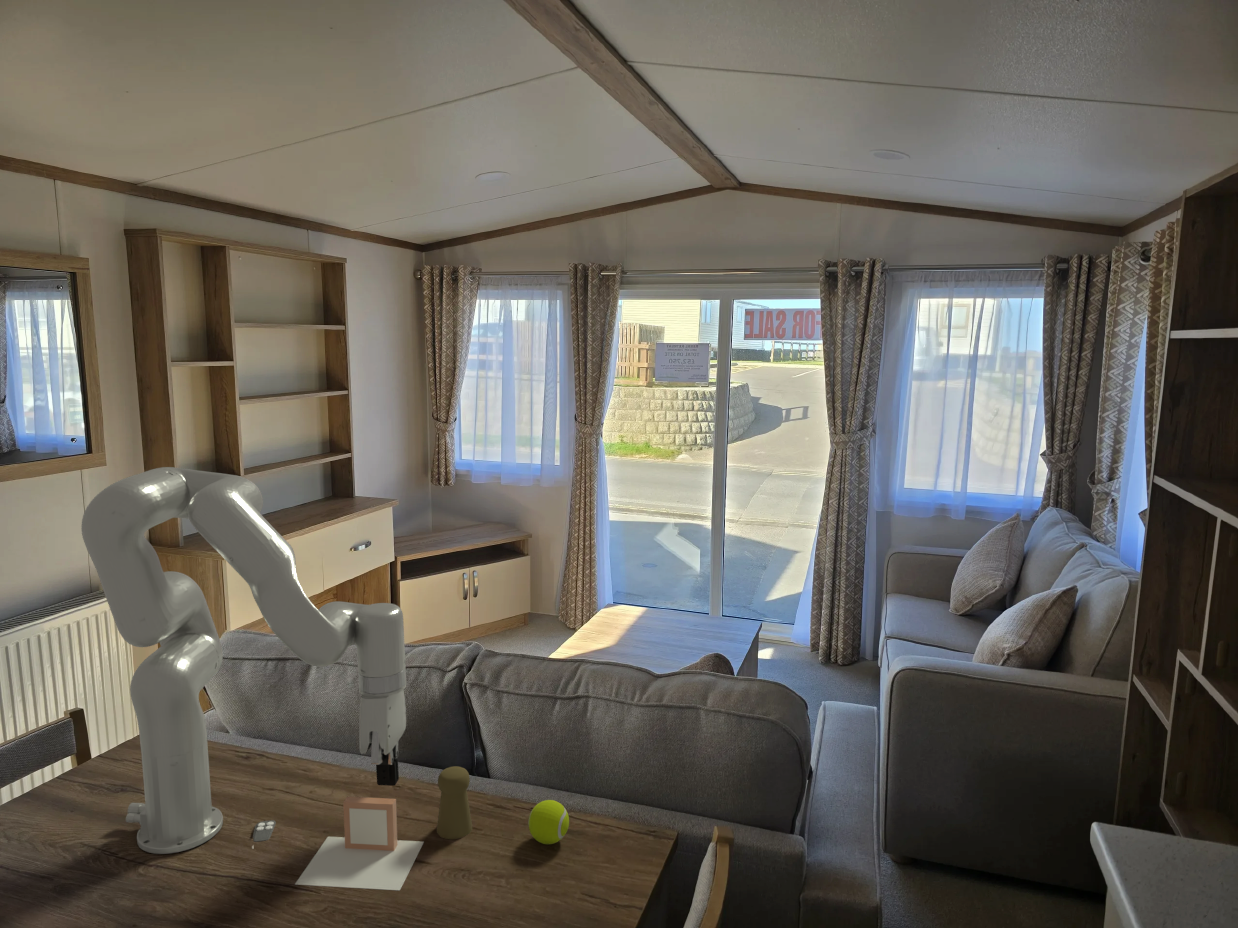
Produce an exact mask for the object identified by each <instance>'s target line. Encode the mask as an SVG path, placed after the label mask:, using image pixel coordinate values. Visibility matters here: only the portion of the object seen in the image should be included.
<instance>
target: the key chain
mask: <svg viewBox="0 0 1238 928" xmlns="http://www.w3.org/2000/svg"><path fill="white" fill-rule="evenodd" d="M276 824H277V822H276V820H273V819H270V820H264V821H263V820H261V821H259V822H257V823H256V824H255V826H254V829H253V834H252V838H253V839H252V840H253V842H255V843H257V842H265V841H268V840H270V838H271V837H272V834H273V832H274V829H275V827H276ZM254 846H255V845H254V844H253V845H252V846H251V849H252V850H254V848H255V847H254Z"/></svg>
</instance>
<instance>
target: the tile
mask: <svg viewBox="0 0 1238 928" xmlns="http://www.w3.org/2000/svg"><path fill="white" fill-rule="evenodd" d="M342 803H343V804H342V805H343V807H342V808H343V826H344V827H343V828H344V829H343V830H344V837H345V848H350V849H368V850H387V851H394V850H395V848H396V847H397V840H398V824H397V823H398V821H397V820H398V819H397V798H387V797H385V798H382V797H365V796H364V797H363V796H362V797H361V796H346V798H345V799H344V800H343V802H342Z"/></svg>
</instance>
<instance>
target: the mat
mask: <svg viewBox="0 0 1238 928" xmlns="http://www.w3.org/2000/svg"><path fill="white" fill-rule="evenodd" d="M424 843H425V841H419V840H417V841H415V840H401V839H399V840H398V839H397V847H396V848H395V850H394V851H387V850H368V849H350V848H345V836H344V837H343V836H342V837H341V836H327V837H326V839H325V840H324V841H323V843H322V844H321V846H320V847H319V848H318V851H316V854H314V856H313V857H312V859H311V860H310V861H309V863H308V865H307V866H306V868H305V869H304V871H303V872H302V873H301V875H300V876H299V878H298V879H297V880H296V881H295V883H294V885H296V886H298V885H300V886H314V887H329V888H330V887H331V888H332V887H334V888H348V889H349V888H351V889H366V890H384V891H399V892H400V891H401V889H402V886H403V885H404V883H405V881H406V879H407V877H408V875H409V873H410V870H411V869H412V867H413V865H414V863H415V861H416V858H418V855H419V853H420V851H421V849H422V847H423V845H424Z"/></svg>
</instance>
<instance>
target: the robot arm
mask: <svg viewBox="0 0 1238 928" xmlns="http://www.w3.org/2000/svg"><path fill="white" fill-rule="evenodd" d="M263 506H264V498H263V494H262V491H261V490H260V488H259V487H258V485H257V484H255V483H254V482H253V481H251V480H250V479H248V478H247V477H244V476H243V477H242V476H240V475H236V474H228V473H221V472H213V471H212V472H211V471H205V470H196V469H189V468H182V467H181V468H180V467H172V466H167V467H166V466H162V467H157V468H153V469H149V470H146V471H143V472H141V473H136V474H134V475H131V476H128V477H125V478H122V479H120V480H117V481H115V482H114V483H112V484H110V485H108V486H107V487H106V488H104V489H103V490H101V491H100V492H99V493H97V494H96V495H95V496H94V498H92V499H91V501H90V502H89V503H88V505H87V507H86V508H85V511H84V512H83V515H82V519H81V536H82V540H83V544H84V546H85V548H86V550H87V552H88V556H90V559H91V562H92V563H93V566H94V568H95V570H96V573H97V576H98V579H99V581H100V584H101V587H102V590H103V593H104V596H105V598H106V601H107V605H108V607H109V610H110V612H111V615H112V618H113V620H114V623H115V626H116V628H117V630H118V633H119V634H120V636H121V637H122V639H123V640H124V641H125V642H126V643H127V644H129V645H131V646H133V647H137V648H148V647H149V648H150V647H152V646H155V645H157V644H159V645H160V647H158V648H157V649H156V650H155V651H153V652H152V653H151V654H150V655H148V656H147V657H146V658H145V659H144V660H143V661H142V662H141V663H140V664H139V666H137V668H136V669H135V671H134V673H133V675H132V677H131V681H130V685H129V688H130V689H129V690H130V692H129V693H130V699H131V703H132V706H133V710H134V712H135V717H136V720H137V721H136V722H137V724H138V732H139V733H138V734H139V742H140V752H141V764H142V765H141V766H142V777H143V790H144V791H143V792H144V801H145V802H131V803H129V805H128V807H127V814H126V817H125V822H126V823H132V824H133V823H138V824H139V825H140V828H139V829H138V831H137V834H136V841H137V845H138V847H139V849H141V850H143V851H145V852H146V853H151V854H155V855H165V854H166V855H168V854H175V853H179V852H180V853H181V852H183V851H188V850H190V849H193V848H196V847H198V846H201V845H202V844H204V843H206V842H208V841H209V840H211V839H212V838H213V837H214V836H216V835H217V834H218V833H219V831H220V830H221V829H222V826H223V824H224V816H223V813H222V812H221V810H220V809H219V808H217V807H215V806H213V805H212V792H211V777H210V759H209V751H208V750H209V748H208V746H209V744H208V734H207V733H208V732H207V723H206V717H205V714H204V711H203V708H202V706H201V704H200V700H199V699H200V698H199V696H200V691H201V690H202V689H203V688H205V686H206V685H207V683H209V682H210V681H211V680H212V678H214V676H215V675H216V674H217V673H218V671H219V670H220V668H221V666H222V664H223V657H224V653H223V646H222V643H221V640H220V635H219V634H218V630H217V628H216V625H215V622H214V619H213V617H212V614H211V611H210V608H209V606H208V601H207V599H206V597H205V595H204V592H203V590H202V589H201V587H200V585H198V583H197V582H196V581H195V580H194V579H193V578H191V576H189V575H187V574H185V573H183V572H178V571H171V570H170V571H164V570H163V567H162V565H161V562H160V559H159V558H160V557H159V556H158V554H157V552H156V549H155V548H154V547H153V545H152V544H151V543H150V541H149V540H148V539H147V538H146V537H145V534H146V532H147V531H149V530H150V529H152V528H154V527H155V526H157V525H159V524H163V523H164V522H167V521H169V520H171V519H173V518H177V519H186V520H188V521H189V522H190V524H191V525H192V527H193V528H194V529H195V530H196V531H197V533H198V534H200V536H202V538H204V540H205V541H206V542H207V543H208V544H209V545H210V546H211V547H212V548H213V549H214V550H215V551H216V552H217V553H218V554H219V555H220V556H221V557H222V558H223V559H224V560H225V561H226V562H227V563H228V564H229V566H231V568H233V569H234V571H235V572H236V573H237V574H238V575H239V576H241V578H242V579H243V580H244V581H245V582H246V583H247V585H248V587H249V589H250V591H251V594H252V597H253V599H254V601H255V603H256V606H257V607H258V609H259V611H260V614H261V615H262V617H263V619H264V620H265V622H266V624H267V626H268V627H269V629H270V630H271V631H272V632H273V634H274V635H275V637H277V638H278V639H279V640H280V641H281V643H283V644H284V646H286V647H287V648H288V650H290V652H291V653H293V654H294V655H295V656H296V657H298V659H300V660H301V661H303V662H304V663H306V664H308V665H310V666H312V667H318V668H319V667H321V668H324V667H328V666H331V665H333V664H335V663H336V662H338V661H339V660H341V658H342V657H343V656H344V655H345V653H346V651H347V650H348V649H349V647H352V646H355V647H356V655H357V656H356V657H357V675H358V677H357V678H358V691H359V693H360V694H361V697H360V705H359V720H358V721H359V722H358V723H359V724H358V725H359V729H358V730H359V734H358V735H359V737H358V738H359V752H360V754H361V755H365V754H367V752H368V751H369V750H370V749H371V751H370V752H371V754H370V757H371V759H370V764H371V765H375V769H376V771H375V772H376V784H377V786H388V787H389V786H393V787H394V786H396V785H397V782H399V780H400V779H399V778H400V775H399V758H398V757H399V740H400V739H401V737H402V736H403V735H404V733H405V730H406V727H407V708H406V707H407V706H406V698H405V688H407V672H406V671H407V670H406V667H407V666H406V648H405V629H404V628H405V627H404V625H405V623H404V612H403V610H402V609H401V607H400V606H399V605H397V604H395V603H390V602H379V603H378V602H377V603H371V604H363V603H355V602H347V601H339V600H338V601H331V602H328V603H325V604H324V605H322V606H321V607H319V609H318V608H317V607H316V606H315V605H314V603H313V602H312V601H311V599H310V598H309V597H308V596H307V594H306V593H305V591H304V589H303V587H302V586H301V584H300V580H299V578H298V572H297V563H296V555H295V551H294V548H293V547H292V545H291V544H290V543H289V542H288V541H287V540H286V539H285V538H284V537H283V535H281V534H280V532H278V530H277V529H276V528H274V526H273V525H271V523H269V521H268V520H267V519H266V518H265V517H264V516H263V514H261V512H262V510H263Z"/></svg>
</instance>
